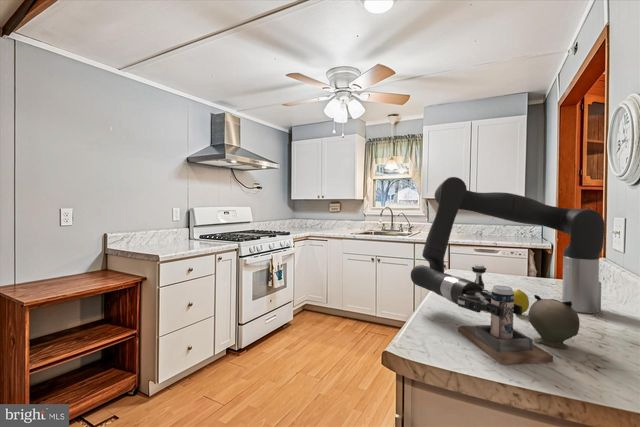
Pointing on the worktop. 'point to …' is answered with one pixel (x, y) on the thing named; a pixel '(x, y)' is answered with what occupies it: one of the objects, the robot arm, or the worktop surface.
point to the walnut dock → (506, 346)
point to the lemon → (521, 300)
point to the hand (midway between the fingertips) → (511, 311)
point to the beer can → (504, 299)
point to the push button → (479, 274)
